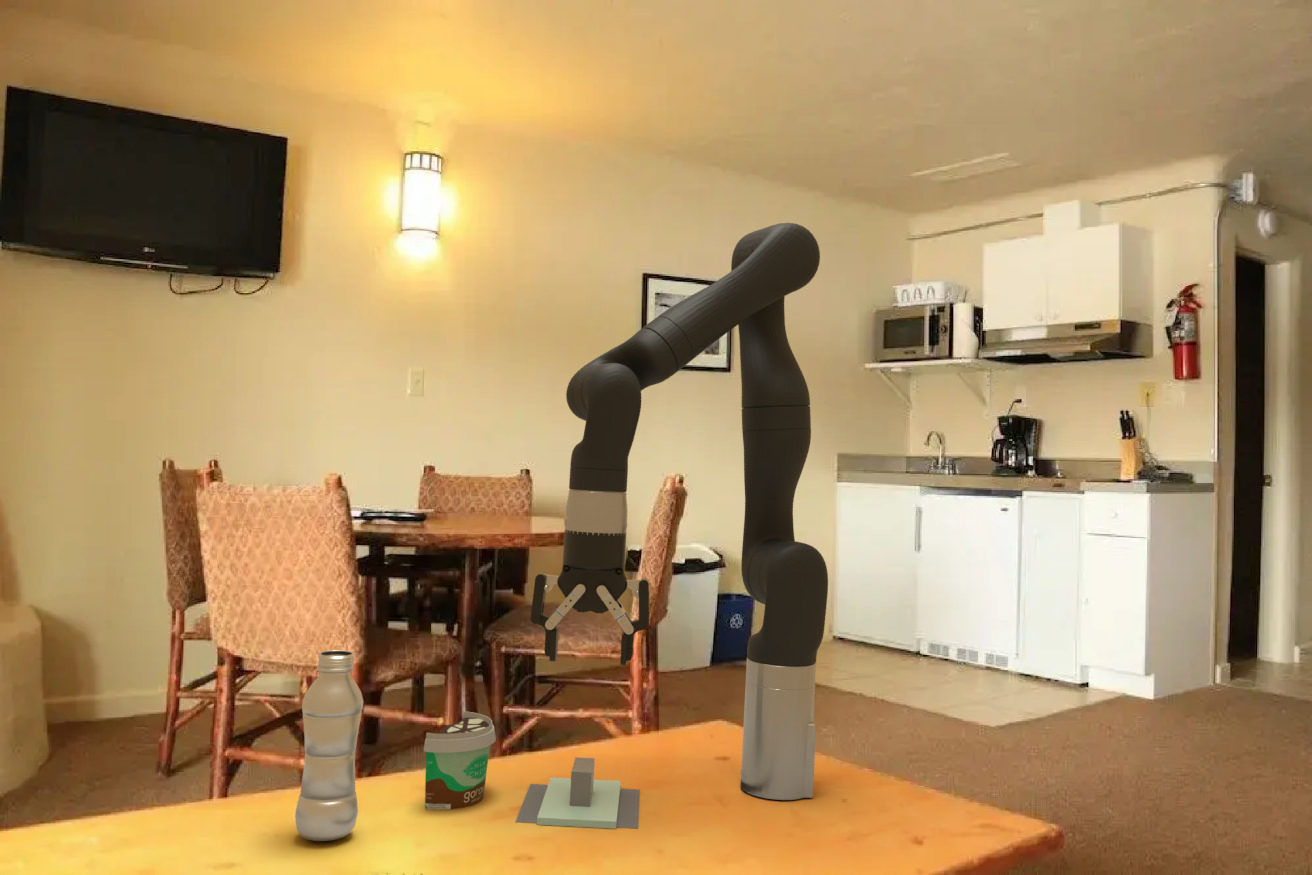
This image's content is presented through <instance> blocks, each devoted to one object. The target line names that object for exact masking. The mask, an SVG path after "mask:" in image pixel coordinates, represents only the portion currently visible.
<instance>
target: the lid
mask: <svg viewBox="0 0 1312 875" xmlns="http://www.w3.org/2000/svg"><path fill="white" fill-rule="evenodd" d="M595 759H596V758H594V757H582V756H581V757H577V756H576V757H575V758H574V761H573V765H572V768H571V774H570V777H555V776H554V777H550V778H549V781H548V784H547V785H548V787H547V790H546V793H545V796H544V799H543V802H542V805H541V808H540V811H539V814H538V817H537V824H536V826H539V825H540V826H557V827H558V826H559V827H575V828H576V827H577V828H590V829H591V828H592V829H593V828H595V829H610V830H616V829H617V828H616V824H617V815H618V806H619V797H620V789H622V788H621V787H622V786H621V785H622V784H621V783H622V782H621V780H611V779H610V780H608V779H607V780H606V779H595V763H596V762H595V761H596V760H595Z"/></svg>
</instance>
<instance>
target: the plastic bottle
mask: <svg viewBox="0 0 1312 875" xmlns="http://www.w3.org/2000/svg"><path fill="white" fill-rule="evenodd" d="M318 654H319V655H318V664H317V666H316V671H317V672H319V673H318V676H317V678H316V679H315V680H314V681H313V682H312V684H311V685H310V686H309V688H308V689H307V691H306V692H305V693H304V695H303V699H302V702H301V705H302V706H301V709H302V710H301V711H302V712H301V713H302V721H303V722H302V723H303V733H304V734H303V735H304V763H303V764H304V765H303V766H304V767H303V771H302V780H301V786H300V793H299V796H298V800H297V804H296V810H295V815H294V818H295V827H296V830H297V832H298V833H299V835H300V837H302V838H303V839H305V840H308V841H313V842H327V841H328V842H330V841H336V840H339V839H342V838H344V837H347V836H349V835H350V834H351V832H352V831H353V829H355V826H356V823H357V818H358V814H359V806H358V797H357V791H356V767H355V762H356V761H355V760H356V749H357V741H358V735H359V729H360V725H361V724H360V723H361V719H362V713H363V712H362V711H363V707H364V698H363V694H362V691H361V689H360V688H359V686H358V683H356V681H355V680H354V678H353V676H352V675H351V674H352V673H351V672H352V671H354V669H355V668H354V667H355V665H354V652H352V651H350V650H341V649H339V650H338V649H337V650H324V651H321V652H319V653H318Z"/></svg>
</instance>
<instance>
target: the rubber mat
mask: <svg viewBox="0 0 1312 875" xmlns="http://www.w3.org/2000/svg"><path fill="white" fill-rule="evenodd" d="M547 787H548V784H544V783H543V784H542V783H541V784H540V783H530V784H529V786H528V789H527V792H526V793H525V797H524V799H523V801H522V804H521V806H520V809H519V812H518V814H517V817H516V819H515V823H517V824H518V823H519V824H520V823H521V824H536V825H537V817H538V814H539V811H540V808H541V805H542V802H543V799H544V796H545V793H546V790H547ZM640 794H641V790H640V789H637V788H636V789H635V788H633V789H631V788H620V797H619V806H618V815H617V824H616V829H617V828H618V829H633V830H634V829H635V830H638V829H639V818H640V800H641V799H640V796H641V795H640Z"/></svg>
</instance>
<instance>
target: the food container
mask: <svg viewBox="0 0 1312 875" xmlns="http://www.w3.org/2000/svg"><path fill="white" fill-rule="evenodd" d="M425 735H426V736H425V739H424V746H423V752H424V753H425V779H424V780H425V786H424V787H425V788H424V791H425V792H424V795H425V797H424V809H425V810H437V811H438V810H442V811H443V810H444V811H445V810H454V809H455V810H456V809H464V808H467V807H471V806H475V805H477V804H478V803H480V802H481V801H482V800H483V799H484V796H485V795H484V794H485V786H486V779H487V770H488V765H489V756H490V747H491V745H493V744H494V743H495V742H496V741H497V738H496V737H497V736H496V730H495V726H494V723H493V720H492V719H491V718H490V717H489V716H487V715H484V714H481V713H477V712H471V711H467V710H466V711H465V710H464V711H463V714H462V718H461V719H460V720H459V721H458V722H456V723H452V724H451V723H450V724H448V725H446V726H445V727H444V728H442V730H441V731H440V732H439V733H435V732H426V734H425Z"/></svg>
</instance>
